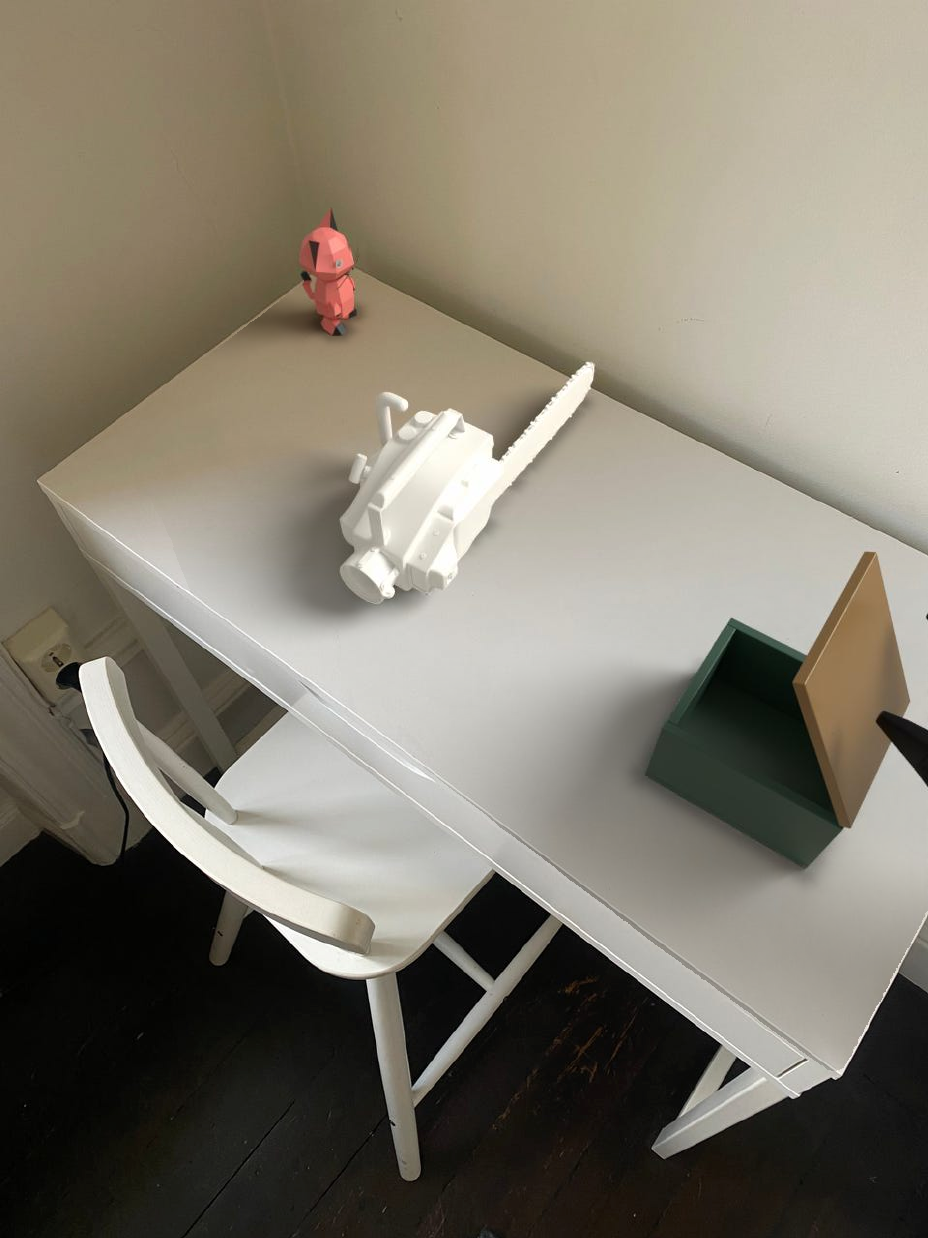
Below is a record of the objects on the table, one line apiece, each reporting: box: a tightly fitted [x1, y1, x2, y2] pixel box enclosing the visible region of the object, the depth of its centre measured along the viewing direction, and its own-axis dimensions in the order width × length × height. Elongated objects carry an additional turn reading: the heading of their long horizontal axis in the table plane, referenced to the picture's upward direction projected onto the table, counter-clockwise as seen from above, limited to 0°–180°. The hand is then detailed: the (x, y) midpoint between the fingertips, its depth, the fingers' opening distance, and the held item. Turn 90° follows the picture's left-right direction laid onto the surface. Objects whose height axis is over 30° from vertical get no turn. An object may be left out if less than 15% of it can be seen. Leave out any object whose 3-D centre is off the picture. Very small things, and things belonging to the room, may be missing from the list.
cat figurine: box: [298, 207, 360, 336], centre depth 99 cm, size 7×7×12 cm
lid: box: [792, 550, 911, 830], centre depth 60 cm, size 14×12×1 cm
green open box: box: [644, 617, 845, 870], centre depth 70 cm, size 14×12×8 cm
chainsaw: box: [339, 361, 596, 605], centre depth 85 cm, size 15×35×12 cm, turn 146°
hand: (904, 661), depth 58 cm, fingers open, 9 cm apart
